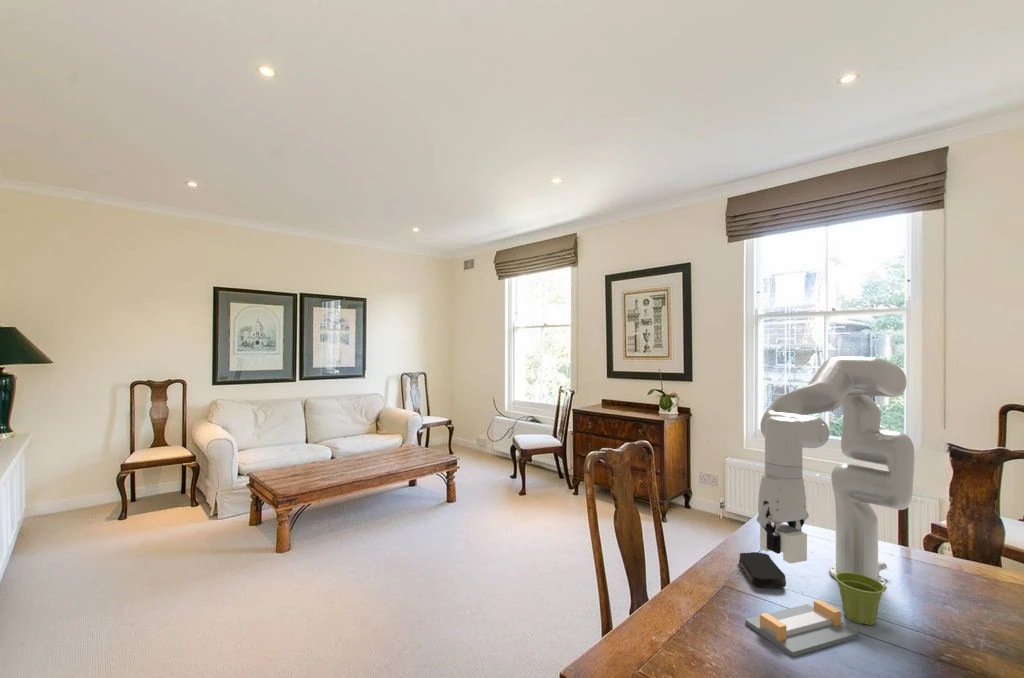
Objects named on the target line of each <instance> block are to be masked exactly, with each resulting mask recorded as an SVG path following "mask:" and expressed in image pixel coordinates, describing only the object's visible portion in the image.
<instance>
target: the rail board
mask: <svg viewBox="0 0 1024 678" xmlns="http://www.w3.org/2000/svg"><path fill="white" fill-rule="evenodd" d="M744 622H745V625H747V626H748V627H750V628H751V629H753V630H754V631H755V632H756V633H758V634H759V635H761V636H762V637H764V638H765V639H767V640H768V641H770V642H771V643H772V644H774V646H777V647H778V648H779V649H781V650H782V651H784V653H787V654H788V655H789V656H791V657H792V658H794V657H797V656H801V655H805V654H807V653H811V652H814V651H818V650H821V649H824V648H828V647H830V646H831V647H832V646H835V645H838V644H841V643H846V642H848V641H852V640H855V639H858V638H859V636H860V633H859V632H858V631H856V630H854V629H852V628H850V627H849V626H847V625H845V624H844V623H842V611H841V610H839V609H838V608H836V607H835V606H833V605H830V604H829V603H827V602H825V601H824V600H821V599H817V600H813V606H811V605H810V604H809V603H808V604H802V605H797V606H794V607H791V608H785V609H781V610H778V611H774V612H773V611H772V612H770V613H768V612H763V613H760V614H759V615H758V616H757V615H756V616H753V617H749V618H745V620H744Z"/></svg>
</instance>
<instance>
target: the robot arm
mask: <svg viewBox="0 0 1024 678" xmlns="http://www.w3.org/2000/svg"><path fill="white" fill-rule="evenodd" d="M906 388H907V377H906V374H905V372H904V370H903V369H902V368H901V366H900V367H899V366H898V365H897V364H894V363H892V362H890V361H887V360H885V359H881V358H878V357H871V356H834V357H831V358H828V359H826V360H825V361H824V362H823V363H822V365H820V368H819V369H818V370H817V371H816V373H815V374H814V375H813V377H812V378H811V380H810V381H809V382H808V384H807V385H805V386H803V387H800V388H797V389H794V390H792V391H790V392H787V393H786V394H783V395H781V396H779V397H778V398H776V399H775V400H774V401H773V402H772V403H771V404H770V406H768V408H767V410H765V412H764V414H763V416H762V418H761V421H760V432H761V434H762V436H763V437H764V474H763V475H762V476H761V480H760V485H759V491H758V504H757V505H758V506H757V514H758V515H757V517H756V522H757V523H759V525H760V524H761V525H762V527H763V528H764V530H765V531H766V532H767V549H769V550H771V551H770V552H773V553H775V554H781V552H780V536H779V535H778V534H779V529H780V524H781V523H783V524H784V523H786V525H788V526H790V527H793V528H795V529H798V530H800V531H802V529H803V528H802V527H803V526H804V524H805V522H806V521H807V519H808V518H809V516H810V515H809V513H808V511H807V499H806V498H807V497H806V496H807V495H806V490H805V489H806V487H805V481H804V478H803V448H805V449H817V448H821V447H822V446H824V445H825V444H826V443H827V442H828V441H829V438H830V429H829V425H828V424H827V423H826V421H825V420H824V419H821V418H820V417H816V416H813V415H815V414H823V413H826V412H827V413H828V412H831V411H835V410H837V409H838V408H839V407H841V406H842V412H843V413H842V424H841V425H842V427H841V439H840V448H841V452H842V454H843V455H844V456H845V457H847V458H849V459H851V460H855V461H860V462H865V463H871V464H876V465H882V466H885V467H887V469H888V470H884V469H878V468H873V467H868V466H864V465H863V466H862V465H860V464H854V463H853V464H852V463H842V464H838V465H837V466H835V467H834V468H833V469H832V470H831V478H830V479H831V485H832V490H833V496H834V503H835V508H834V509H835V564H832V565H830V566H829V567H828V571H829V574H830V576H831V577H833V578H834V579H835V575H836V574H837V573H840V572H851V573H857V574H861V575H864V576H867V577H870V578H872V579H874V580H876V581H878V582H880V583H881V584H882V585H883V586H884V588H885V589H886V586H887V585H886V583H887V582H886V579H885V578H883V577H882V576H881V575H880V572H882V571H884V570H887V569H888V565H887V564H886V563H885V562H884V561H880V562H879V519H878V517H877V514H876V512H875V511H874V509H873V507H872V505H875V506H879V507H883V508H887V509H892V510H898V511H901V510H902V511H903V510H906V509H908V508H909V506H910V505H911V502H912V498H913V488H914V472H915V471H914V470H915V469H914V468H915V447H914V446H915V445H914V443H913V441H912V439H911V437H909V436H908V435H907V434H905V433H903V432H899V431H895V430H887V429H881V417H882V416H881V415H882V413H881V412H882V411H881V410H880V407H879V406H878V404H877V403H876V402H875V401H874V400H873V398H872V397H873V396H874V397H886V398H896V397H900V396H901V395H902V394H903V393H904V392H905V390H906ZM871 396H872V397H871ZM870 504H871V505H870ZM772 523H775V524H774V528H773V527H772V526H771V524H772ZM802 532H803V531H802Z"/></svg>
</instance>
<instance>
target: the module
mask: <svg viewBox="0 0 1024 678" xmlns="http://www.w3.org/2000/svg"><path fill="white" fill-rule="evenodd" d="M774 524H775V523H772V524H771V526H772V527H773V528H774ZM759 532H760V533H759V549H761V550H763V551H765V552H772V551H771V550H769V549H767V532H766V531H765V530H764V528H763V527H762V525H761V524H759ZM778 535H779V536H780V553H782V560H783V561H784V562H786V563H788V564H795V563H800V562H806V561H807V560H808V533H806V532H804V531H800V530H798V529H795V528H793V527H790V526H788V525H787V523H784V522H783V523H781V524H780V529H779V534H778Z"/></svg>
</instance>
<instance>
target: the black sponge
mask: <svg viewBox="0 0 1024 678" xmlns="http://www.w3.org/2000/svg"><path fill="white" fill-rule="evenodd" d="M738 564H739V565H740V566H741V567H742V569H743V570H744V571H745V573H746V574H747V576H748V578H749V580H750V582H751V584H752V585H753V586H754V587H756V588H779V589H781V588H785V587H786V586H787V579H786V574H785V573H784V572H783V571H782V570H781V569H780V568H779V567H778V566H777V565H776V563H775V562H774V561H773V560H772V558H771V556H770V555H769V554H767V553H763V552H755V551H754V552H741V553H739V559H738Z"/></svg>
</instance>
